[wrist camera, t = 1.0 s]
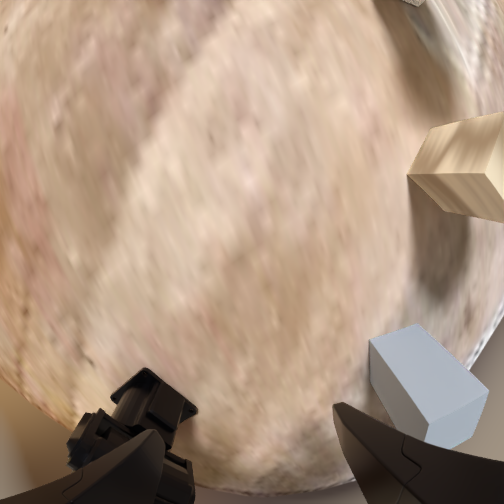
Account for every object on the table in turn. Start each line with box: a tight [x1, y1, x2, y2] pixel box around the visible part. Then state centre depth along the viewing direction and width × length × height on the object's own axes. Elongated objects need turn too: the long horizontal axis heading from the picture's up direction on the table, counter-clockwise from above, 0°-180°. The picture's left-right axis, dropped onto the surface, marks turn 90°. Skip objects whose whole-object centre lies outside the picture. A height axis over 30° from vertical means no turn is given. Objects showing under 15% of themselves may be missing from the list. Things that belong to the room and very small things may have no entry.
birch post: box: [407, 112, 504, 223], centre depth 15 cm, size 5×5×9 cm
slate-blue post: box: [369, 323, 489, 450], centre depth 18 cm, size 5×5×11 cm
